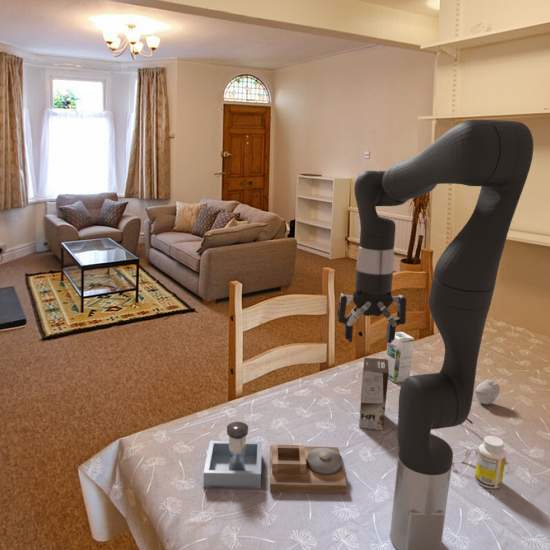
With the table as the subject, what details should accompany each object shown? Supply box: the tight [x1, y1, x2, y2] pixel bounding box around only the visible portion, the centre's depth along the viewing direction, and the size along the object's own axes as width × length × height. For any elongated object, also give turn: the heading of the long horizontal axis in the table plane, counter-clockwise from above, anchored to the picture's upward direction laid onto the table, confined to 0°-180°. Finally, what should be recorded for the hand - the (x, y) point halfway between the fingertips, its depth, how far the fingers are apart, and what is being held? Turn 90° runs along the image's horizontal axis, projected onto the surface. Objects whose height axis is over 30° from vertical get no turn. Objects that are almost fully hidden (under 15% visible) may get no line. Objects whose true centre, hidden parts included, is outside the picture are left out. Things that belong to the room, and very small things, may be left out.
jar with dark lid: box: [226, 421, 249, 471], centre depth 114 cm, size 5×5×10 cm
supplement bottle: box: [474, 435, 507, 490], centre depth 113 cm, size 6×6×10 cm
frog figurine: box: [474, 378, 501, 405], centre depth 149 cm, size 6×7×7 cm
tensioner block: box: [269, 444, 348, 495], centre depth 115 cm, size 14×16×5 cm
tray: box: [203, 440, 263, 490], centre depth 115 cm, size 12×12×4 cm
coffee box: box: [358, 357, 389, 431], centre depth 136 cm, size 9×6×16 cm
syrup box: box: [385, 331, 415, 384], centre depth 162 cm, size 6×6×14 cm
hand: (369, 341), depth 112 cm, fingers open, 8 cm apart
